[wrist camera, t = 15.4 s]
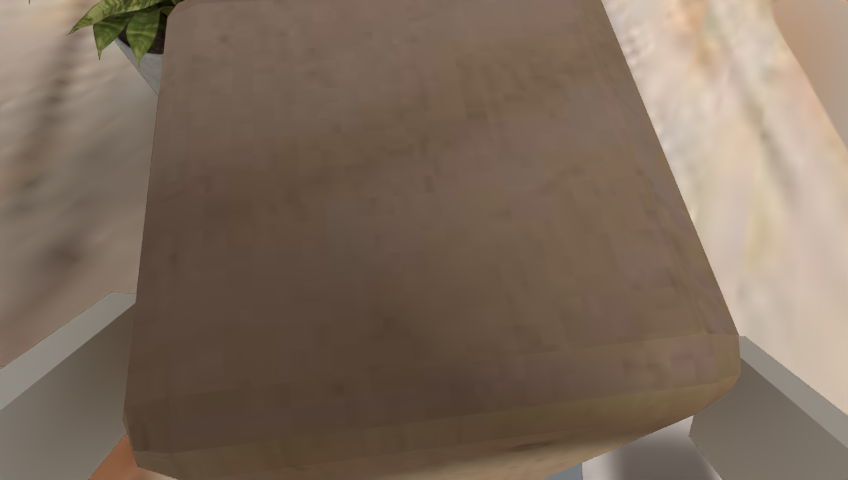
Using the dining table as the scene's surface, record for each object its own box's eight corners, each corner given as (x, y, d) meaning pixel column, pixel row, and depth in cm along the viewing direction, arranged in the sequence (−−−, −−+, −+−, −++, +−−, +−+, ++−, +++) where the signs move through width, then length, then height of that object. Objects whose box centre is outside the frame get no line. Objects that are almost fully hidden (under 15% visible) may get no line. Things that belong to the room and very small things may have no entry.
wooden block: (518, 495, 26) (793, 390, 8) (297, 528, 25) (81, 484, 7) (479, 295, 31) (604, -43, 13) (291, 314, 29) (151, -27, 12)
